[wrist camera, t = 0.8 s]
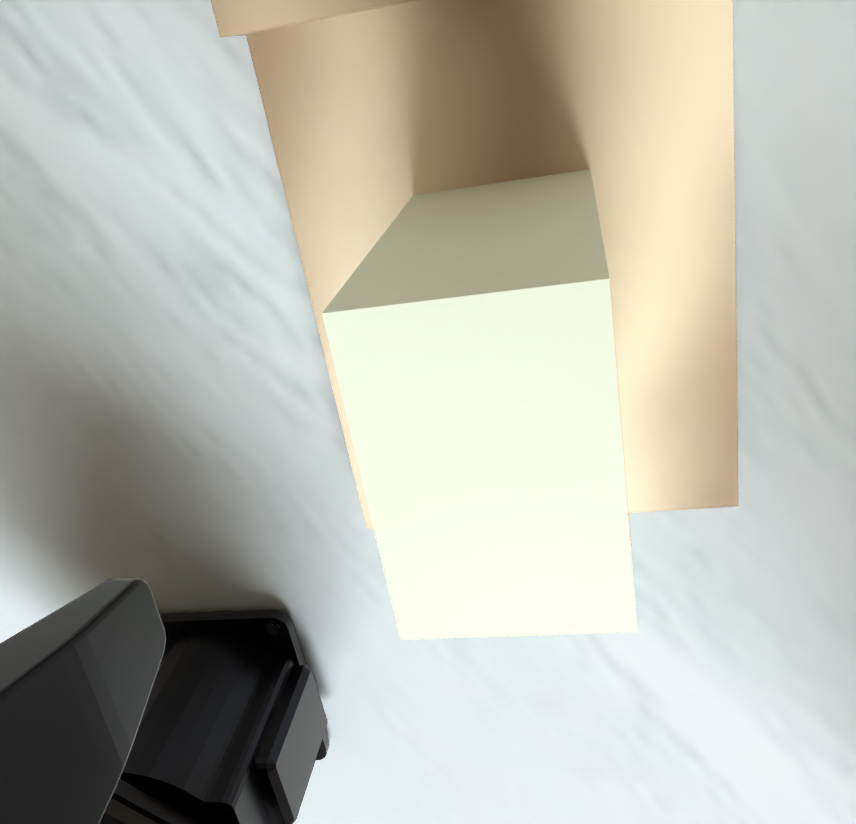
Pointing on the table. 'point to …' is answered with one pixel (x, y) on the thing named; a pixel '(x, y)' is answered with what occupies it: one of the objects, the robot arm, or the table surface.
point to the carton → (490, 412)
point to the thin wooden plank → (533, 174)
